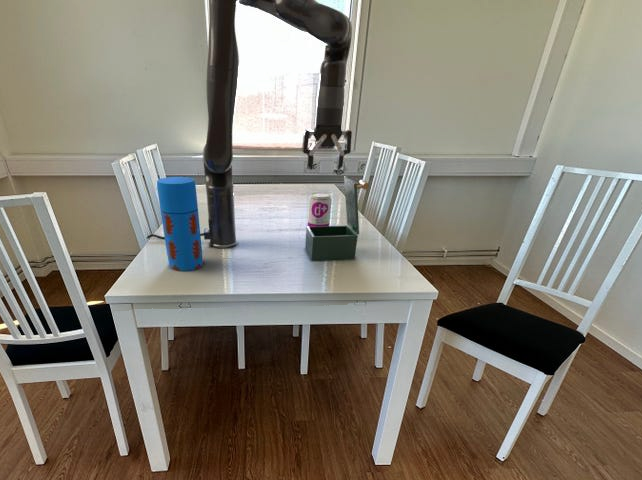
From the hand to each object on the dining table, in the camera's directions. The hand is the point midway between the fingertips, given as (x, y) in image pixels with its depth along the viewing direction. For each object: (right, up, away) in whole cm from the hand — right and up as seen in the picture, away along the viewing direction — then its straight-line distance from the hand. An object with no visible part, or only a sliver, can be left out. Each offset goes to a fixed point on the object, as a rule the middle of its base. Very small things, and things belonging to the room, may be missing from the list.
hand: (324, 169), depth 120 cm
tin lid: (+9, -9, +6) cm, 14 cm away
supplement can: (+1, -11, +31) cm, 33 cm away
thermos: (-43, -28, +6) cm, 52 cm away
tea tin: (+4, -22, +15) cm, 27 cm away
